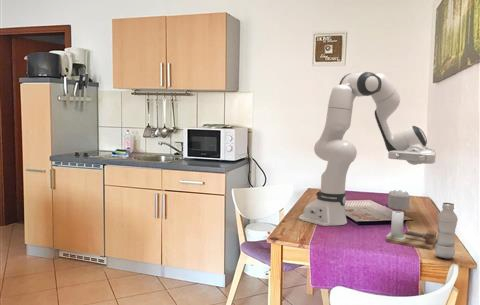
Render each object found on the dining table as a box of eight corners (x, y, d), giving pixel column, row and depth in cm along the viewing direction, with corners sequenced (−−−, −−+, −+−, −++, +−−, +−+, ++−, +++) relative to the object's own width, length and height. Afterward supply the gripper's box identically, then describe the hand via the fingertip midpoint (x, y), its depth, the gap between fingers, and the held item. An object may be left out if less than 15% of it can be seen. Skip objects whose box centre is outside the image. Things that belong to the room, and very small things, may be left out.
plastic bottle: (435, 253, 163) (439, 200, 160) (455, 256, 159) (459, 203, 157) (433, 258, 157) (436, 204, 155) (453, 262, 154) (458, 206, 152)
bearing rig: (383, 241, 176) (384, 228, 176) (391, 234, 186) (392, 222, 185) (431, 250, 166) (432, 236, 166) (437, 242, 176) (438, 229, 176)
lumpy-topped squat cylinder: (390, 209, 232) (391, 193, 231) (385, 203, 245) (386, 188, 244) (410, 209, 231) (411, 193, 230) (404, 204, 244) (405, 189, 243)
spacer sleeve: (389, 236, 178) (390, 212, 177) (392, 233, 182) (393, 210, 181) (400, 238, 176) (402, 214, 175) (403, 235, 180) (405, 211, 179)
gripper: (392, 146, 210) (384, 148, 199) (438, 150, 199) (432, 152, 187) (392, 159, 211) (383, 162, 199) (437, 163, 199) (431, 166, 188)
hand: (407, 157), depth 193 cm, fingers open, 8 cm apart
